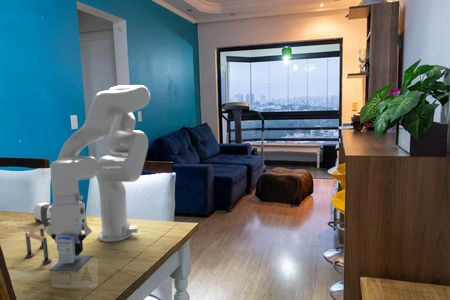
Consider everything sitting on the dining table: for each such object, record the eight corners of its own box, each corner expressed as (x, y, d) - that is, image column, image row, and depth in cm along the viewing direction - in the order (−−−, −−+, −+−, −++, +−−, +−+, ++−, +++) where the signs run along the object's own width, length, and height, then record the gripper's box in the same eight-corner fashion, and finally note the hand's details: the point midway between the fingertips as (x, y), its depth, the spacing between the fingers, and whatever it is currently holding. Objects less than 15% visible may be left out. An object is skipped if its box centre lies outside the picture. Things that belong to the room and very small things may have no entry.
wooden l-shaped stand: (69, 246, 121) (68, 223, 120) (48, 264, 108) (45, 238, 106) (41, 246, 122) (38, 223, 120) (15, 263, 109) (13, 238, 107)
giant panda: (33, 222, 146) (30, 201, 144) (45, 219, 150) (43, 198, 149) (52, 229, 138) (50, 207, 137) (64, 225, 143) (62, 203, 141)
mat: (92, 256, 113) (92, 255, 113) (77, 271, 103) (77, 270, 103) (66, 255, 114) (66, 254, 114) (49, 270, 104) (49, 269, 104)
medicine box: (68, 252, 112) (66, 228, 110) (82, 252, 112) (80, 227, 111) (58, 264, 104) (56, 237, 103) (73, 263, 104) (71, 236, 103)
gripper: (97, 195, 108) (101, 249, 111) (47, 195, 110) (52, 248, 112) (86, 202, 101) (90, 259, 103) (33, 202, 102) (38, 258, 105)
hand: (70, 252), depth 108 cm, fingers closed on medicine box, 4 cm apart
